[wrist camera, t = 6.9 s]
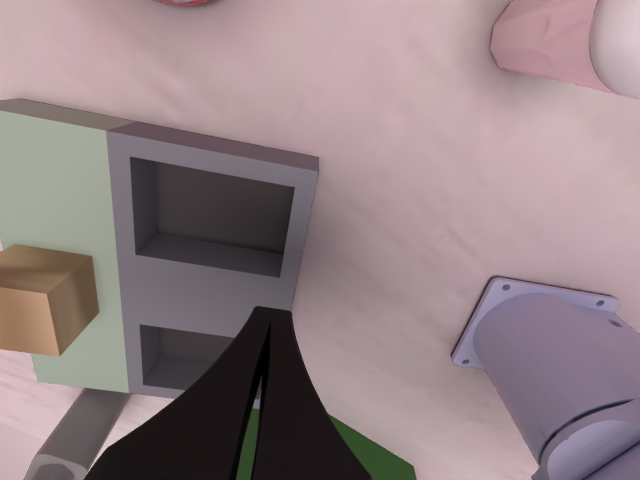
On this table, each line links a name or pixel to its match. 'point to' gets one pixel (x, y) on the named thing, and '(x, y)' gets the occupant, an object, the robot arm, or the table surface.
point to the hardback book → (385, 468)
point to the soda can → (183, 2)
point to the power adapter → (78, 436)
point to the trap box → (153, 237)
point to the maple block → (44, 299)
